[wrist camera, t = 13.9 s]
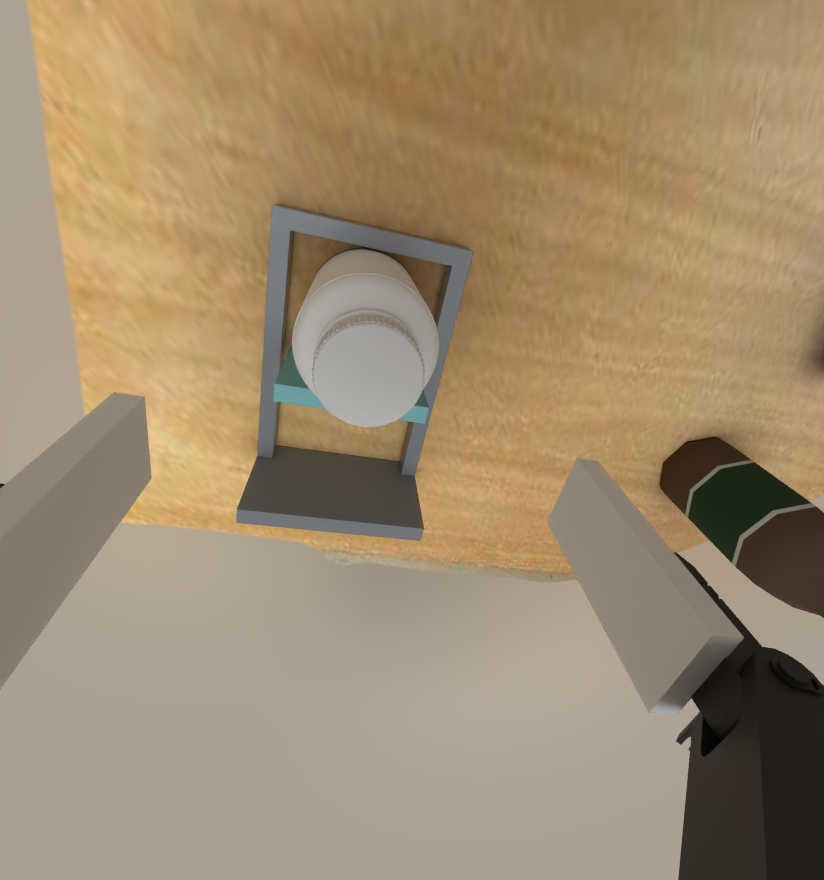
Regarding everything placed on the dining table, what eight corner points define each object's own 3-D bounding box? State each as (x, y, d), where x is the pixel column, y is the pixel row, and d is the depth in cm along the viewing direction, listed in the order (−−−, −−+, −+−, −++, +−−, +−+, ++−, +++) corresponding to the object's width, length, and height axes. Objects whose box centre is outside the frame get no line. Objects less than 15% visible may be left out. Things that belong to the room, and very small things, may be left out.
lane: (467, 247, 32) (500, 268, 25) (409, 474, 42) (420, 540, 34) (277, 204, 30) (247, 211, 22) (261, 455, 39) (236, 522, 31)
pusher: (416, 364, 36) (428, 407, 29) (413, 378, 37) (424, 423, 30) (292, 342, 34) (274, 383, 27) (291, 357, 35) (273, 401, 28)
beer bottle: (647, 460, 44) (903, 711, 23) (725, 420, 42) (1075, 650, 21) (667, 510, 47) (903, 766, 27) (739, 475, 46) (1050, 717, 25)
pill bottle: (428, 337, 35) (466, 427, 22) (332, 365, 36) (315, 469, 23) (402, 231, 31) (430, 266, 18) (293, 264, 32) (246, 320, 19)
